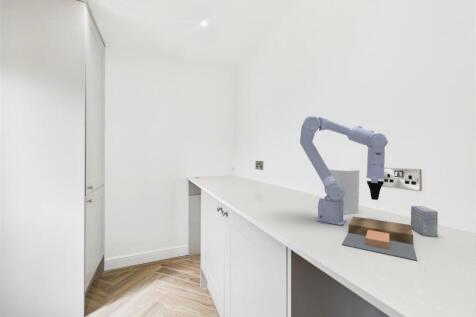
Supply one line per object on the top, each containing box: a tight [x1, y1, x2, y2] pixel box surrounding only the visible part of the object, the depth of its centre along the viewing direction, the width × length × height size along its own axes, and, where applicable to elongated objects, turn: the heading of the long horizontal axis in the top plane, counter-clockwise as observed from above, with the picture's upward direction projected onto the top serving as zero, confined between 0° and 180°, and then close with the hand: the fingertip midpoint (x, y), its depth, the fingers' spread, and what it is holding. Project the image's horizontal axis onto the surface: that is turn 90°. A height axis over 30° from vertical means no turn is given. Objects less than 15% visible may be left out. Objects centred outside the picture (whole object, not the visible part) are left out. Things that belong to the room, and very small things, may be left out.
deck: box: [347, 216, 414, 246], centre depth 80 cm, size 18×12×3 cm, turn 56°
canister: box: [328, 168, 360, 215], centre depth 111 cm, size 14×14×20 cm
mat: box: [341, 232, 418, 262], centre depth 69 cm, size 18×12×1 cm, turn 56°
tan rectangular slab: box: [365, 230, 389, 249], centre depth 71 cm, size 6×9×2 cm, turn 147°
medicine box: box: [410, 205, 439, 238], centre depth 81 cm, size 8×4×9 cm, turn 168°
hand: (374, 199), depth 89 cm, fingers closed
